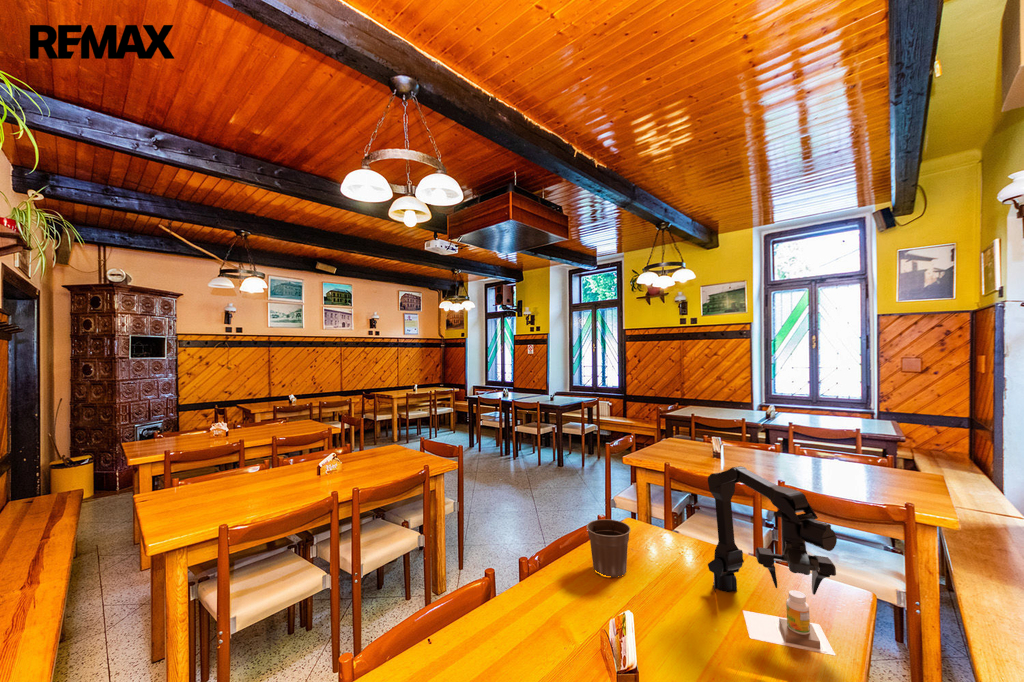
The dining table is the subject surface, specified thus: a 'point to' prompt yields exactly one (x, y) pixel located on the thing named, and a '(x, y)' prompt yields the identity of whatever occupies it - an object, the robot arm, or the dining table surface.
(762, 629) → the white flat board
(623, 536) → the plant pot
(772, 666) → the dining table surface
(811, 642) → the grey plinth
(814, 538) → the robot arm
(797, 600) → the supplement bottle
